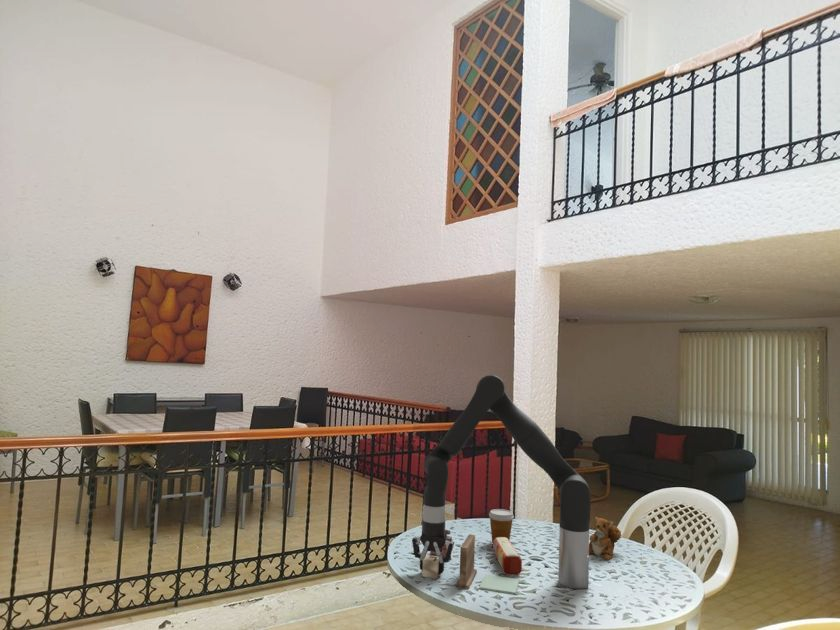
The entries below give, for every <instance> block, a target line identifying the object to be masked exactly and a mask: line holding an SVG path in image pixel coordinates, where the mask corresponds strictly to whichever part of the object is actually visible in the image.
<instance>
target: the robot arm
mask: <svg viewBox="0 0 840 630" xmlns="http://www.w3.org/2000/svg"><path fill="white" fill-rule="evenodd" d="M489 410H490V411H491V412H492V413H493V414H494V415H495V416H496V417H497V418H498V419H499V420H500V422H501V423H502V425H503V426H504V428H505V429H506V431H507V432H508V434H509V435H510V436H511V437H512V439H513V440H514V441H515V443H516V444H517V445H518V447H519V448H520V449H521V450H522V451H523V452H524V454H525V455H526V456H527V457H529V459H530V460H532V462H534V463H535V464H536V465H537V466H538V467H540V468H541V469H542V470H543V471H544V472H545V473H546V474H547V475H548V476H549V478H550V479H551V480H552V482H553V483H554V484H555V486H556V487H557V489H558V491H559V492H560V495H559V496H560V500H559V501H560V504H559V505H560V506H559V528H558V529H559V530H558V531H559V532H558V533H559V535H558V536H559V537H558V539H559V540H558V574H557V575H558V576H557V577H558V579H557V580H558V581H557V582H558V583H559V584H561V586H564V587H566V588H570V589H580V590H581V589H589V586H590V585H589V579H590V578H589V577H590V574H589V573H590V567H589V566H590V554H589V543H590V523H591V505H592V504H591V501H592V500H591V498H592V497H591V495H592V493H591V489H590V486H589V484H588V483H587V481H586V480H585V479H584V477H582V476H581V475H580V474H579V473H578V472H577V471H576V470H575V469H574V468H573V467H571V465H570V464H569V463H568V462H567V461H566V460H565V459H564V458H563V456H562V455H561V454H560V452H559V450H558V449H557V448H556V446H555V445H554V444H553V442H552V441H551V440H550V438H549V437H548V436H547V435H546V433H545V432H544V431H543V429H542V428H541V427H540V426H539V425H538V424H537V423H536V422H535V421H534V419H532V418H531V417H530V416H529V415H528V414H526V413H525V412H524V411H523V410H522V409H520V408H519V407H518V406H517V405H516V404H515V403H514V402H513V400H512V399H511V398H510V397H509V395H508V393H506V389H505V384H504V381H503V380H502V378H500V377H499V376H497V375H495V374H489V375H485V376H483V377H481V378H480V379H479V380H478V382H477V384H476V388H475V392H474V394H473V396H472V398H471V399H470V401H469V403H468V405H466V407H465V408H464V410H463V411H462V413H460V415H459V416H458V417H457V419H456V420H455V421H454V422H453V423H452V425H451V426H450V428H449V429H448V431H446V434H444V436H443V438H442V439H441V441H440V442H439V443H438V444H437V445H436V446H435V447H434V448H433V449H432V450H431V451H430V453H429V454H428V455H427V456H426V458H425V460H424V462H423V470H424V472H425V473H426V474H427V475H426V476H427V478H426V479H427V480H426V481H427V482H426V486H425V487H424V491H423V507H422V514H421V535H420V536H414V537H413V538H412V539H411V542H412V543H411V544H412V548H413V554H414V557H415V558H417V559H419V561H420V562H419V563H420V564H419V570H421V571H422V569H423V559H424V558H425V557H426V556H427V555H428V554H427V553H428V552H430V551H433V552H436V553H437V556H438V559H439V576H440V575H442V574H443V572H444V571H445V563H447V562H449V559H450V557H451V558H452V551H453V550H454V545H455V542H454V541H453V540H451V542H449V541H447V540H446V538H445V529H446V490H447V486H448V485H447V484H448V481H449V471H450V470H449V466H448V465H449V464H448V463H449V462H450V461H451V459H452V458H453V457H456V456H458V455H459V453H460V452H461V450H462V449H463V448H464V447H465V445H466V443H467V442H468V440H470V438H471V436H472V435H473V433H474V431H475V430H476V428H477V426H478V425H479V423H480V422H481V420H482V419H483V418H484V416H485V415H486V414H487V412H488V411H489ZM420 542H421V544H422V545H423V548H422V551H421V550H420V545H419V544H420ZM444 544H446V548H447V549H448V550H447V553H446V557H444V555H443V549H442V547H443V545H444Z"/></svg>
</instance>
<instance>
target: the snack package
mask: <svg viewBox="0 0 840 630" xmlns="http://www.w3.org/2000/svg"><path fill="white" fill-rule="evenodd" d="M492 545H493V546H492V547H493V548H492V549H493V553H494V554H495V556H496V558H497V561H498V562H499V565H500V566H501V568H502V572H503V574H504V575H507V576H518V575H520V574H521V573H522V571H523V560H522V557H521V556H520V555H519V553H518V552H517V550H516V549H515V547H514V546H513V544H512V543H511V541H510V540H509V539H508V538H506V537H498V538H495V539H494V542H493V544H492Z"/></svg>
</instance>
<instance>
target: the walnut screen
mask: <svg viewBox="0 0 840 630" xmlns="http://www.w3.org/2000/svg"><path fill="white" fill-rule="evenodd" d="M475 544H476V534H473V533H469V534H468V535H467V536H466V538H465V540H464V541H463V543H462V544H461V546H460V557H459V578H458V580H457V581H456V584H455V588H459V589H465V590H470V588H471V585H472V583H473V581H474V579H475V578H476V575H477V573H478V569H475V551H476V550H475V546H476V545H475Z"/></svg>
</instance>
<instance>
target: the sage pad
mask: <svg viewBox="0 0 840 630" xmlns="http://www.w3.org/2000/svg"><path fill="white" fill-rule="evenodd" d="M519 583H520V579H519V578H512V577H506V576H500V575H494V574H486V573H485V574H484V576H483V578H482V581H481V582H480V585H479V589H480V590H485V591H493V592H498V593H505V594H510V595H511V594H512V595H517V591H518V587H519Z"/></svg>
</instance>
